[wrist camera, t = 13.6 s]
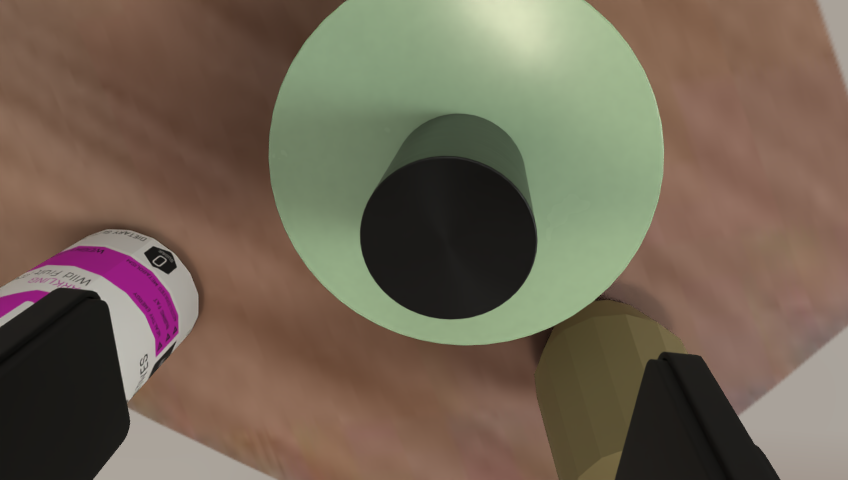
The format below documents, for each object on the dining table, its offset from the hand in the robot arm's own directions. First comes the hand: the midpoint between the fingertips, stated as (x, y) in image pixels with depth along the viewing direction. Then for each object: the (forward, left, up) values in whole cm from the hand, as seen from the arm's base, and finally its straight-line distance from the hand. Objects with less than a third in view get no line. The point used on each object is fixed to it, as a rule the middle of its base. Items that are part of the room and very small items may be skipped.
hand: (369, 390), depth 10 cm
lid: (+1, 0, -12) cm, 12 cm away
